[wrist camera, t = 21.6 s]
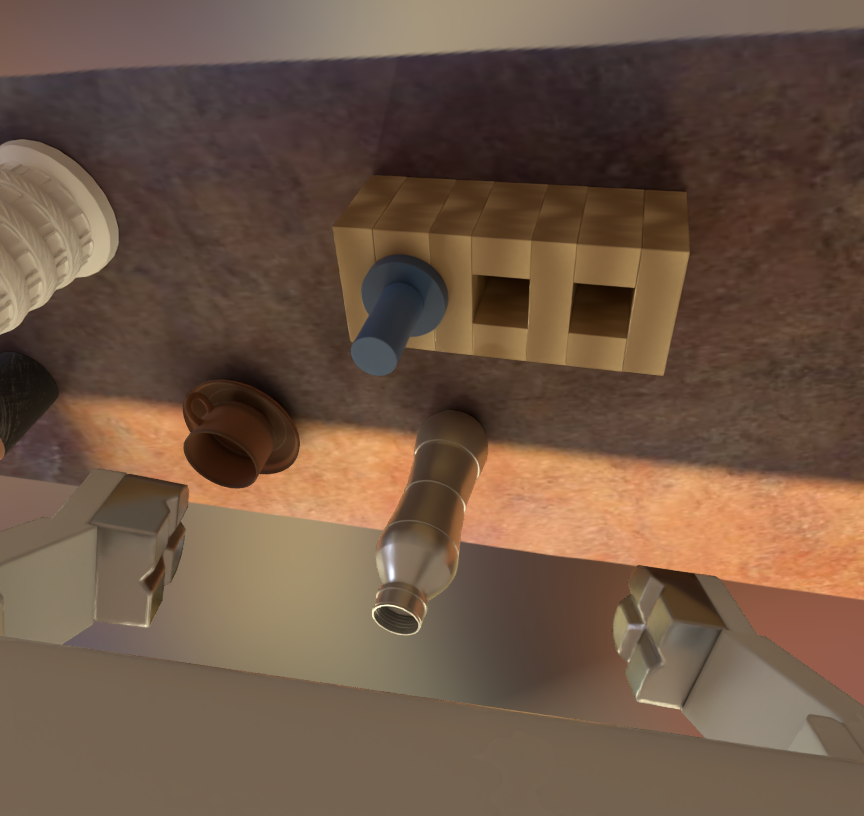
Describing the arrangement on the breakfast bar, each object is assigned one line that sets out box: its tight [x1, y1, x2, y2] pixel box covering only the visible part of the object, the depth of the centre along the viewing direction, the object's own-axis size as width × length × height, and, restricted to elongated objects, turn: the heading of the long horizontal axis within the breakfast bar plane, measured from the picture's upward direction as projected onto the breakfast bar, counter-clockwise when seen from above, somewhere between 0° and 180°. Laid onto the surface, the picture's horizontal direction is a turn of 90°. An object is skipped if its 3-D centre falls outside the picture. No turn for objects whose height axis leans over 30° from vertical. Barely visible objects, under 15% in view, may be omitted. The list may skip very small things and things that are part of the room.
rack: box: [333, 175, 690, 375], centre depth 47 cm, size 21×9×8 cm, turn 93°
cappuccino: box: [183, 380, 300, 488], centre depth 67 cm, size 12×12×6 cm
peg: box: [351, 255, 448, 376], centre depth 45 cm, size 6×6×13 cm
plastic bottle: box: [372, 410, 488, 635], centre depth 56 cm, size 6×7×20 cm
